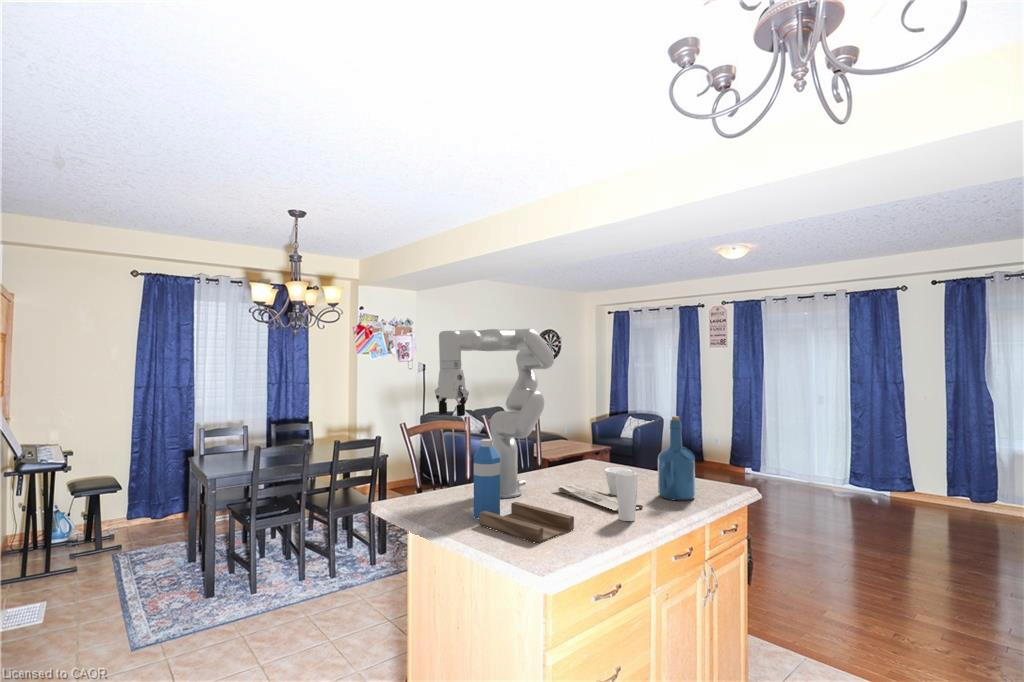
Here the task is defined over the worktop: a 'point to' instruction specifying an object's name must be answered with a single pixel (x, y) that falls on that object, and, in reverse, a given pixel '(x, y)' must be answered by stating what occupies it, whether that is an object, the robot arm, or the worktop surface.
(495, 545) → the worktop surface
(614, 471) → the cup
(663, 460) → the wine bottle
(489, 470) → the water bottle
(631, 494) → the drinking glass
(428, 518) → the worktop surface
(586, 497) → the newspaper
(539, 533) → the u rest
